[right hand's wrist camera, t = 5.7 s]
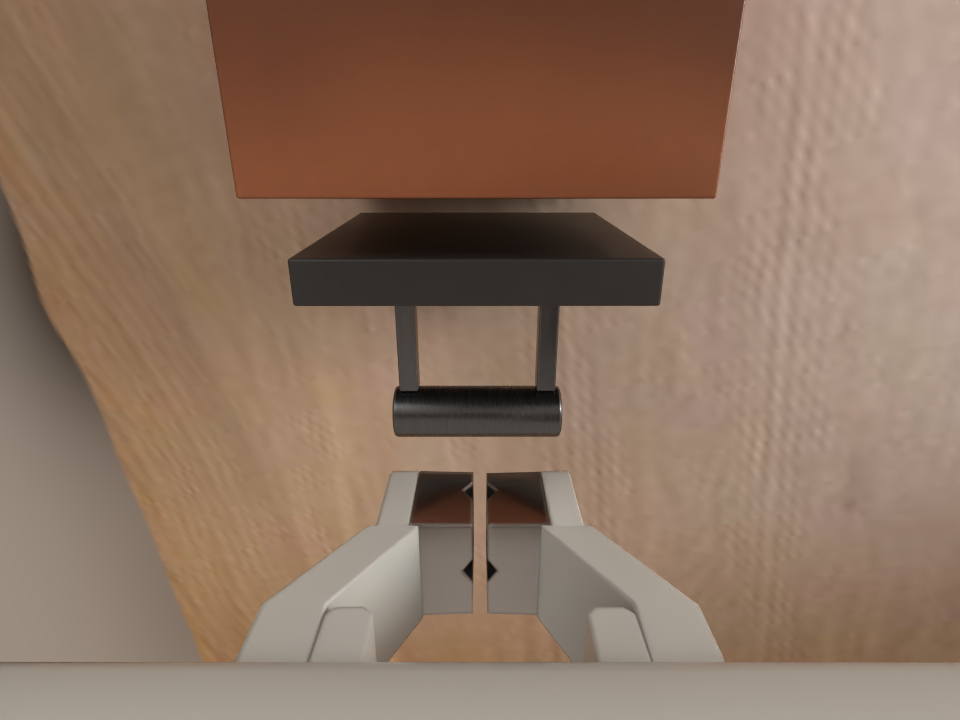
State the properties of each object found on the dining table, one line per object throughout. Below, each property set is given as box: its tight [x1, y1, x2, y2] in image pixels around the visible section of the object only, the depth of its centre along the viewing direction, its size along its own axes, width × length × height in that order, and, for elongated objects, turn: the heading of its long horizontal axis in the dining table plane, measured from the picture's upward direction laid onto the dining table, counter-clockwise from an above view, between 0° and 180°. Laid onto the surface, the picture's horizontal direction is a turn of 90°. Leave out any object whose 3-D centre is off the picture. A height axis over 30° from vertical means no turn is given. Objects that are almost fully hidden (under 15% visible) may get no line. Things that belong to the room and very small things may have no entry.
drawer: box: [288, 213, 665, 437], centre depth 16 cm, size 24×9×9 cm, turn 0°
